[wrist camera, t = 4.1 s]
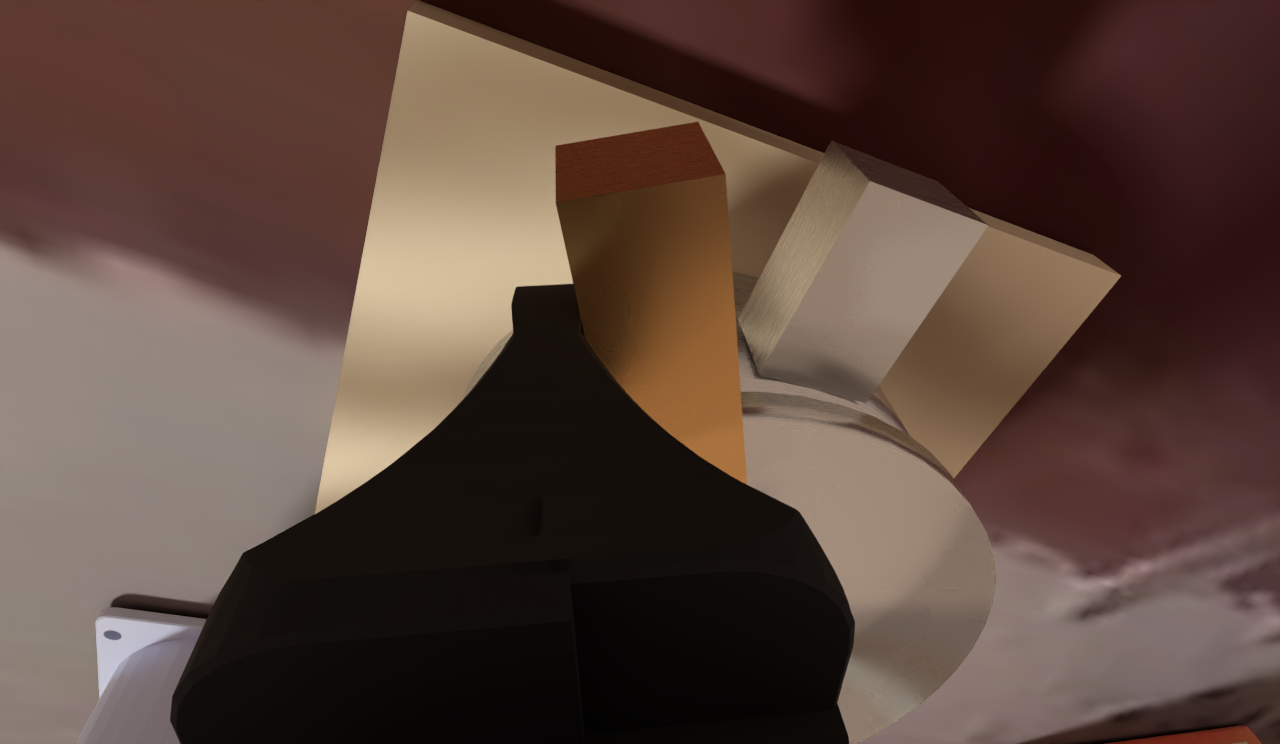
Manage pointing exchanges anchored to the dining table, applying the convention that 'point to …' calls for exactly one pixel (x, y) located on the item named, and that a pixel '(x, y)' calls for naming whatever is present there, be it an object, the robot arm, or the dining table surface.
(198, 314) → the dining table surface
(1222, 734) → the cracker box
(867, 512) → the lid with handle
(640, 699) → the robot arm
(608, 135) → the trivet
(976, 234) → the pot
